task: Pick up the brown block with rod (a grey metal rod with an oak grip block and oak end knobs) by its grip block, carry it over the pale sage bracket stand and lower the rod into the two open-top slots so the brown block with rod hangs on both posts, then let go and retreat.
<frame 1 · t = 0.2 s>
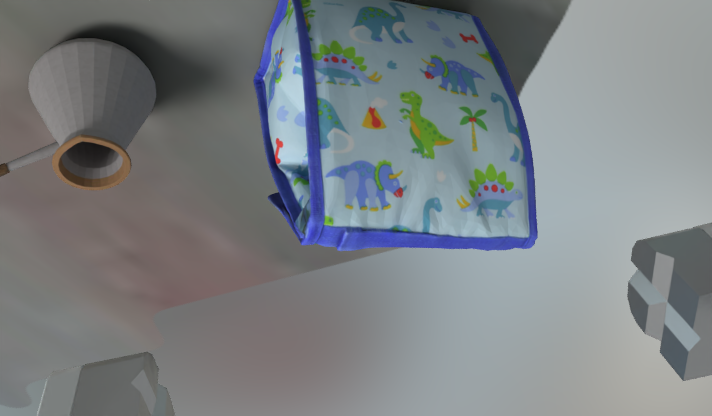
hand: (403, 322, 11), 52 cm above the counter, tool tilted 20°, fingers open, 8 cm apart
coffee pot: (42, 77, 66), on the counter
lunch bag: (360, 48, 72), on the counter
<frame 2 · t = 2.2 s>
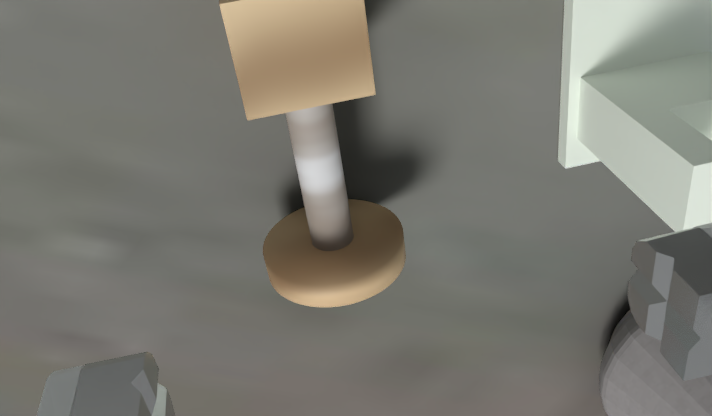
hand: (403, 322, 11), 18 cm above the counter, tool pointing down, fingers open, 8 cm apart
brown block with rod: (286, 9, 26), on the counter
coffee pot: (600, 376, 42), on the counter
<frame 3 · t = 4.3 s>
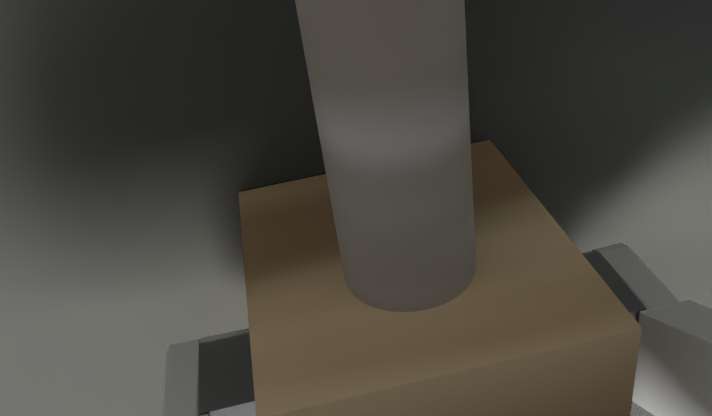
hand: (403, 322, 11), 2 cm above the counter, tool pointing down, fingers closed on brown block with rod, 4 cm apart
brown block with rod: (379, 256, 13), on the counter, touching gripper
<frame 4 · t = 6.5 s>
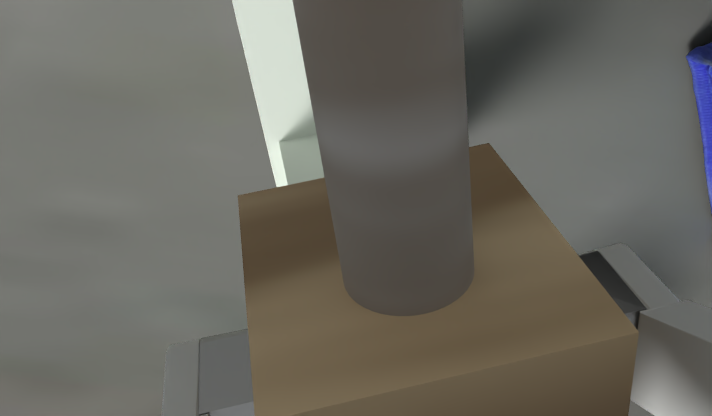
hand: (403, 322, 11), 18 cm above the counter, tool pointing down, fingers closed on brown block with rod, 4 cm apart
brown block with rod: (378, 259, 13), point 16 cm above the counter, touching gripper
brackets: (327, 0, 26), on the counter
when the fingers open (6 cm above the counter, at t = 8.7 s): brown block with rod stays where it is, resting on brackets.
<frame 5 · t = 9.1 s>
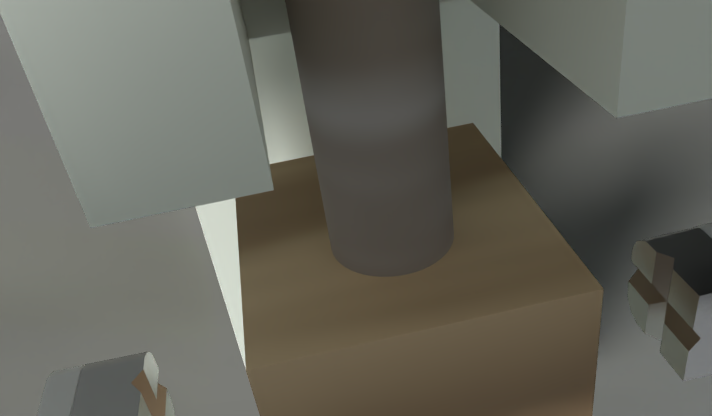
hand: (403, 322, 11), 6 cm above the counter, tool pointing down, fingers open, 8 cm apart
brown block with rod: (368, 234, 14), point 3 cm above the counter, touching brackets
brackets: (346, 166, 16), on the counter
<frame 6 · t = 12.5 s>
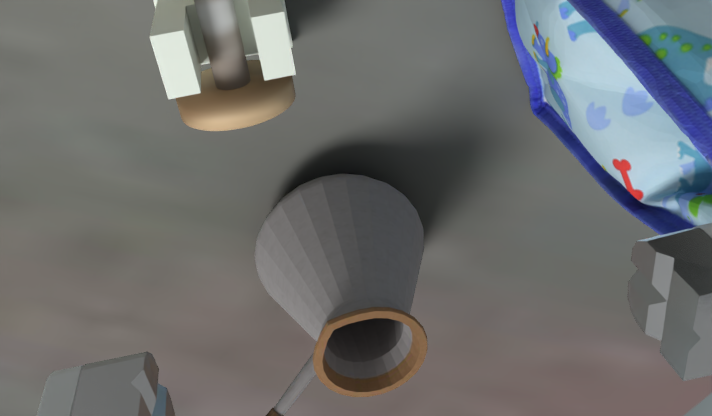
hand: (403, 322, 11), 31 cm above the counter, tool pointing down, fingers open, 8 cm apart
coffee pot: (284, 269, 49), on the counter
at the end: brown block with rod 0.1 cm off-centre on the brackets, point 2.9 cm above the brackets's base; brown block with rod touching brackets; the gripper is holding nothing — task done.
